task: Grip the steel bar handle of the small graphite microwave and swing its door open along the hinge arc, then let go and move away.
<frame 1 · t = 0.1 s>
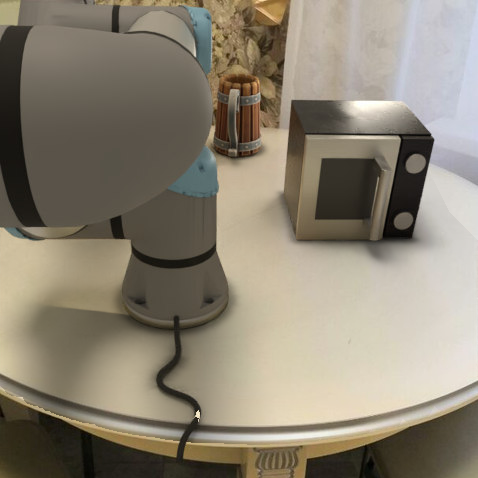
hand: (96, 123, 103), 15 cm above the table, tool tilted 35°, fingers open, 13 cm apart
mug: (235, 153, 134), on the table
microwave door: (348, 197, 98), point 9 cm above the table, hinge at 0.0°
jug: (154, 170, 126), on the table
microwave: (343, 213, 113), on the table
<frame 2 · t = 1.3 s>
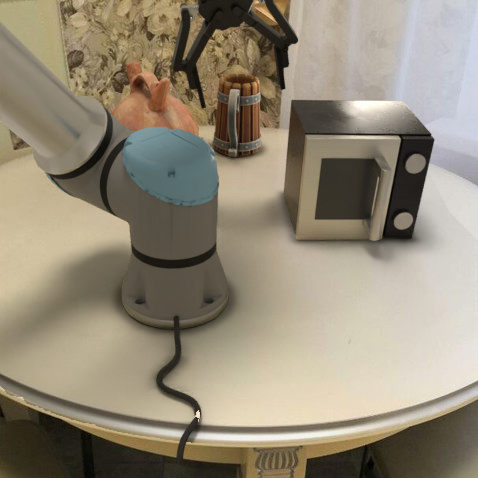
hand: (242, 94, 104), 20 cm above the table, tool tilted 20°, fingers open, 13 cm apart
nothing on the table moved.
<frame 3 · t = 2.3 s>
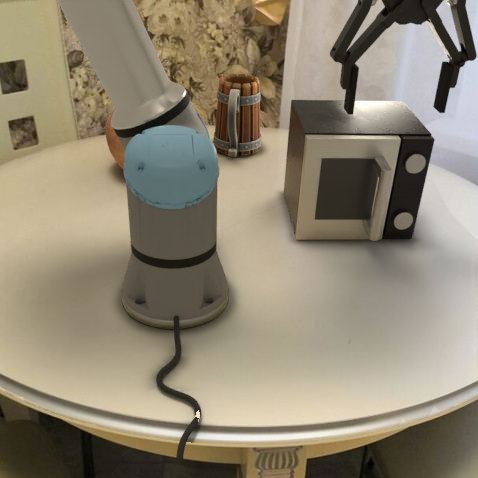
hand: (393, 110, 90), 23 cm above the table, tool pointing down, fingers open, 13 cm apart
nothing on the table moved.
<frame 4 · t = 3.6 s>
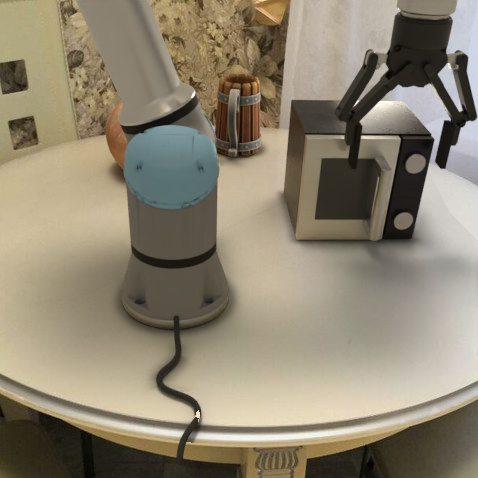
hand: (396, 165, 93), 15 cm above the table, tool pointing down, fingers open, 13 cm apart
nothing on the table moved.
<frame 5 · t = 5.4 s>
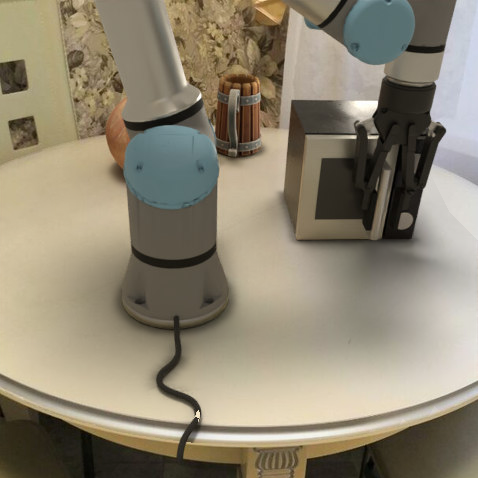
hand: (379, 226, 100), 5 cm above the table, tool pointing down, fingers open, 4 cm apart
microwave door: (349, 196, 98), point 9 cm above the table, hinge at -0.7°, touching gripper
everything else where it was.
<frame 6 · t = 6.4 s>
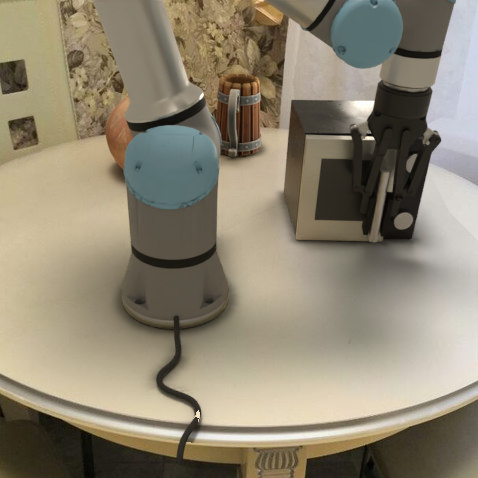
hand: (373, 231, 99), 4 cm above the table, tool pointing down, fingers open, 2 cm apart
microwave door: (348, 198, 97), point 9 cm above the table, hinge at 2.9°, touching gripper
everything else where it was.
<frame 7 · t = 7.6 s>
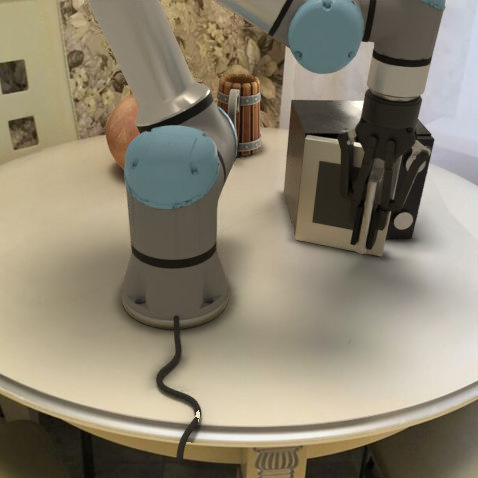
hand: (363, 243, 96), 4 cm above the table, tool pointing down, fingers closed
microwave door: (342, 204, 96), point 9 cm above the table, hinge at 22.8°, touching gripper
everything else where it was.
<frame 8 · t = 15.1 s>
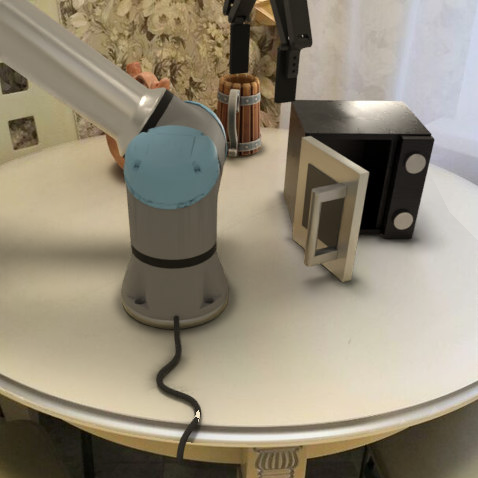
hand: (260, 86, 84), 27 cm above the table, tool pointing down, fingers open, 13 cm apart
microwave door: (312, 212, 93), point 9 cm above the table, hinge at 65.9°
everything else where it was.
at the end: microwave door at +66° (first picture: +0°) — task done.
